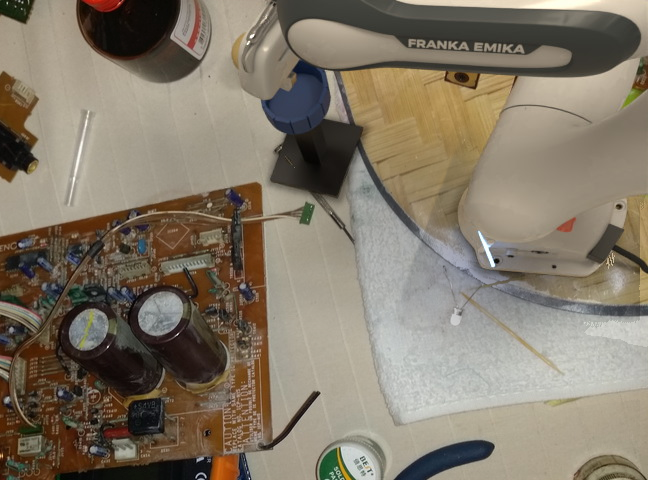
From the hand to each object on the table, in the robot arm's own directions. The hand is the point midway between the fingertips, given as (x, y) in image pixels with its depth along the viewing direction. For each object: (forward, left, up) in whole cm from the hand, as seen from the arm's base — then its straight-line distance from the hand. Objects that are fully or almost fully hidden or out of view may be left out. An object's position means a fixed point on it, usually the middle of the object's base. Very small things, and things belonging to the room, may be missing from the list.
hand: (311, 50), depth 80 cm
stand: (+5, -1, -41) cm, 41 cm away
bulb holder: (+5, -1, -19) cm, 19 cm away
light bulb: (+20, -13, -41) cm, 47 cm away
